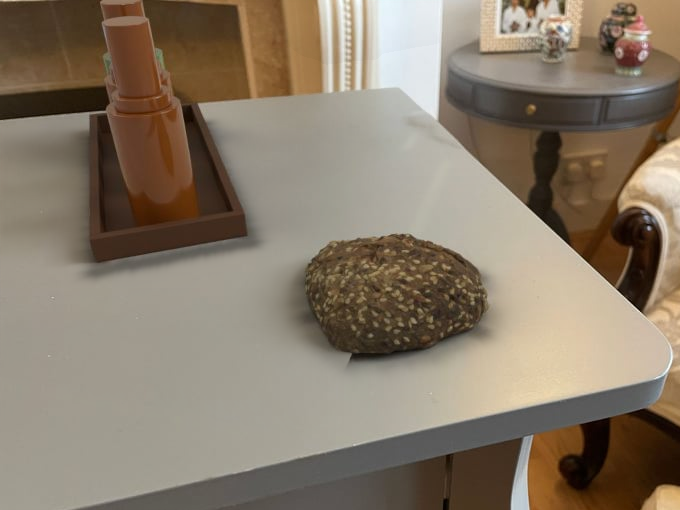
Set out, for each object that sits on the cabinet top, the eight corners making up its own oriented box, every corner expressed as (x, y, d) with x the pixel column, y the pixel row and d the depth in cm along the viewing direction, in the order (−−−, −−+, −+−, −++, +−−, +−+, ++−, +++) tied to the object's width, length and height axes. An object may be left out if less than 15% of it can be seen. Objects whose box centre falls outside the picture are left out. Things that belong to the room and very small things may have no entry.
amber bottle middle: (118, 193, 60) (70, 5, 51) (150, 169, 64) (111, -7, 55) (171, 199, 58) (132, 8, 50) (200, 174, 63) (168, -5, 54)
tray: (248, 241, 53) (244, 213, 52) (98, 269, 50) (89, 239, 48) (200, 123, 76) (196, 101, 75) (95, 137, 73) (89, 114, 71)
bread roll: (316, 369, 40) (310, 303, 37) (300, 264, 50) (294, 206, 48) (514, 343, 42) (522, 279, 39) (460, 247, 52) (464, 191, 49)
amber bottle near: (122, 233, 53) (67, 27, 44) (157, 203, 58) (113, 11, 49) (181, 240, 52) (138, 31, 43) (212, 210, 57) (179, 14, 48)
